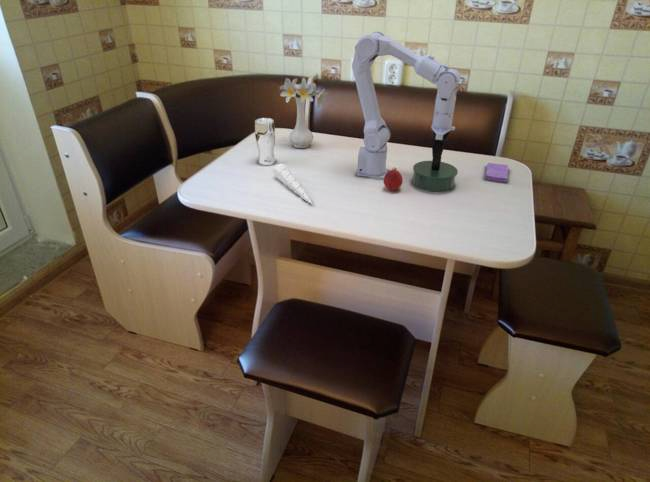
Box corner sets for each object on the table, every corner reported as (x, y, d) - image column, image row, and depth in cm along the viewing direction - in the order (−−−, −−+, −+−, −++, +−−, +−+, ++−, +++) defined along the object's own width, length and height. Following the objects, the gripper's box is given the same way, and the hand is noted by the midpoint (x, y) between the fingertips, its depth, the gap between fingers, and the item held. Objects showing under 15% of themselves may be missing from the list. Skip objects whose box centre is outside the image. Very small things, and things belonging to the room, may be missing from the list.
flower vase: (321, 154, 170) (321, 85, 157) (275, 148, 174) (272, 81, 161) (330, 142, 181) (331, 77, 168) (287, 137, 185) (285, 73, 172)
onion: (400, 196, 141) (403, 172, 137) (382, 194, 142) (384, 170, 138) (401, 188, 146) (404, 165, 142) (383, 186, 147) (385, 163, 142)
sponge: (484, 180, 152) (485, 174, 151) (486, 166, 162) (487, 161, 161) (506, 183, 150) (507, 178, 149) (507, 169, 160) (508, 164, 159)
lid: (410, 177, 142) (412, 161, 139) (415, 161, 153) (417, 146, 150) (455, 183, 139) (458, 167, 136) (458, 166, 150) (460, 151, 147)
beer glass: (280, 160, 164) (278, 119, 156) (268, 167, 159) (266, 125, 151) (265, 156, 167) (262, 116, 159) (253, 162, 162) (249, 121, 154)
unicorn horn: (300, 207, 133) (300, 192, 131) (272, 177, 152) (272, 164, 149) (315, 204, 135) (315, 190, 133) (286, 175, 153) (285, 162, 151)
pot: (410, 190, 144) (412, 175, 142) (415, 174, 155) (417, 160, 153) (451, 196, 141) (454, 181, 139) (454, 179, 152) (456, 165, 149)
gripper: (456, 119, 129) (448, 164, 136) (458, 106, 141) (451, 148, 148) (431, 117, 130) (425, 161, 138) (435, 104, 142) (429, 145, 149)
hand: (437, 154), depth 143 cm, fingers open, 7 cm apart
